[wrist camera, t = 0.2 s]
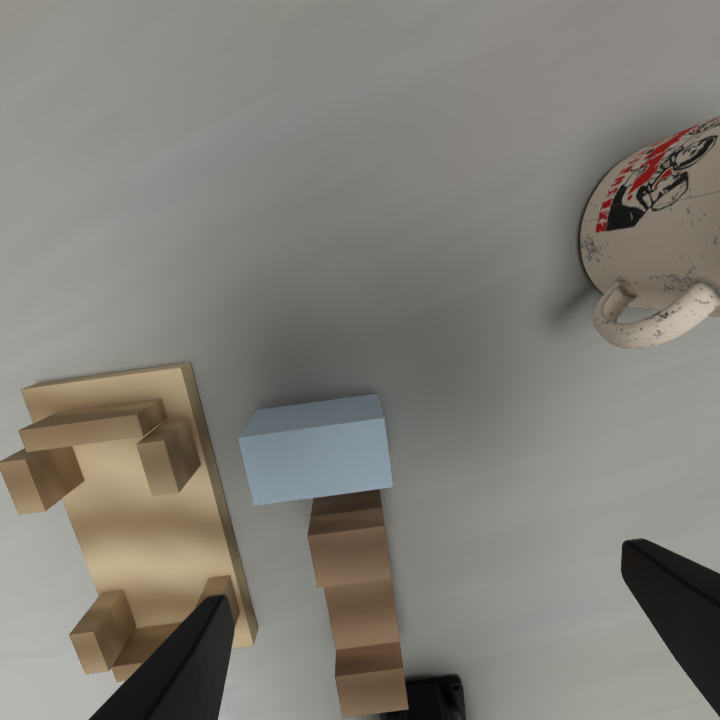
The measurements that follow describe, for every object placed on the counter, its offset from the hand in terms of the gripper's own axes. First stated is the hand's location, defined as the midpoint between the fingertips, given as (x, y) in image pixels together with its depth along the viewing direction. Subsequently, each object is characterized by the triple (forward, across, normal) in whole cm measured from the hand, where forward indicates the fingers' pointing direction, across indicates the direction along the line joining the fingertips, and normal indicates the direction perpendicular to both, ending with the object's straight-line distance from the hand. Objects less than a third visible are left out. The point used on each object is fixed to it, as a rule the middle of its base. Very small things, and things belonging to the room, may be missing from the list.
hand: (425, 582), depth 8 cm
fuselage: (+14, +3, +12) cm, 19 cm away
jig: (+14, +15, +7) cm, 22 cm away
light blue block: (+14, +4, +2) cm, 15 cm away
